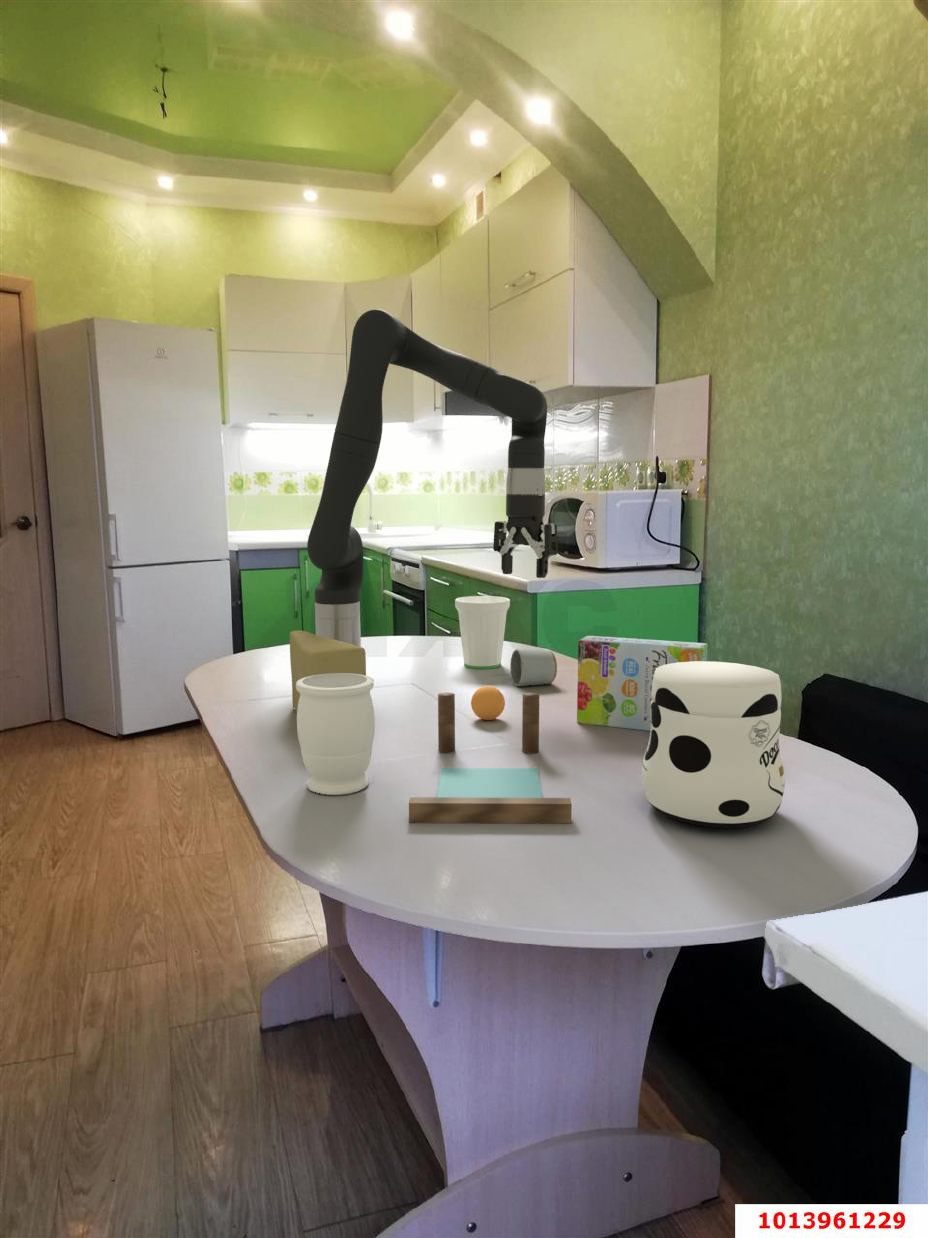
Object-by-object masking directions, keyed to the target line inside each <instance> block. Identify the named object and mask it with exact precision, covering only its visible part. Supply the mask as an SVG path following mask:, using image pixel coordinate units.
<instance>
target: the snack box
mask: <svg viewBox="0 0 928 1238" xmlns="http://www.w3.org/2000/svg"><path fill="white" fill-rule="evenodd" d="M577 646H578V647H577V687H576V688H577V689H576V691H577V693H576V694H577V698H576V700H577V701H576V703H577V704H576V723H577V724H585V725H595V726H603V727H611V728H620V729H630V730H637V731H647V732H650V730H651V701H652V695H651V693H652V683H653V676H654V672H655V670H656V668H657V667H660V666H662V665H665V664H671V663H677V662H692V661H708V647H709V645H708V643H706V642H705V643H704V642H694V641H693V642H692V641H691V642H690V641H677V640H676V641H674V640H673V641H672V640H662V639H661V640H659V639H647V638H645V639H644V638H628V637H615V636H599V635H598V636H597V635H586V636H584V637H582V638H580V639H578V644H577Z"/></svg>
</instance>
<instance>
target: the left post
mask: <svg viewBox="0 0 928 1238" xmlns="http://www.w3.org/2000/svg"><path fill="white" fill-rule="evenodd" d="M455 697H456V694H455V693H453V692H440V693H438V694H437V728H438V733H437V735H438V737H437V739H438V741H437V742H438V743H437V744H438V749H437V751H438V752H439V753H443V754H451V753H454V752H455V751H456V711H455V710H456V706H455V705H456V701H455V700H456V699H455Z"/></svg>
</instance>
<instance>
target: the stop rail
mask: <svg viewBox="0 0 928 1238" xmlns="http://www.w3.org/2000/svg"><path fill="white" fill-rule="evenodd" d="M572 805H573V804H572V801H571V797H542V798H458V797H437V796H436V797H435V796H434V797H433V796H431V797H430V796H429V797H426V796H425V797H424V796H423V797H422V796H420V797H419V796H418V797H416V796H414V797H413V796H411V797H409V801H408V823H412V824H413V823H416V824H417V823H418V824H419V823H422V824H423V823H426V824H427V823H430V824H431V823H433V824H434V823H435V824H437V823H440V824H442V823H443V824H447V823H449V824H450V823H453V824H454V823H456V824H457V823H459V824H461V823H462V824H463V823H464V824H474V823H476V824H483V823H484V824H487V823H488V824H500V823H501V824H572V815H573V814H572V810H573V809H572Z"/></svg>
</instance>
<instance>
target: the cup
mask: <svg viewBox="0 0 928 1238" xmlns="http://www.w3.org/2000/svg"><path fill="white" fill-rule="evenodd" d="M454 606H455V607H454V608H455V609H456V610H457V613H458V621H459V629H460V630H459V631H460V640H461V647H462V655H463V656H462V657H463V665H464V667H465V668H468V669H475V670H490V669H497V668H499V667H500V666H502V659H503V658H502V656H503V647H504V640H505V639H504V638H505V631H506V622H507V614H508V610H509V608H510V606H511V599H510V598H508V597H504V596H496V595H495V596H494V595H470V596H462V597H461V596H460V597H457V598H455V600H454Z"/></svg>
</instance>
